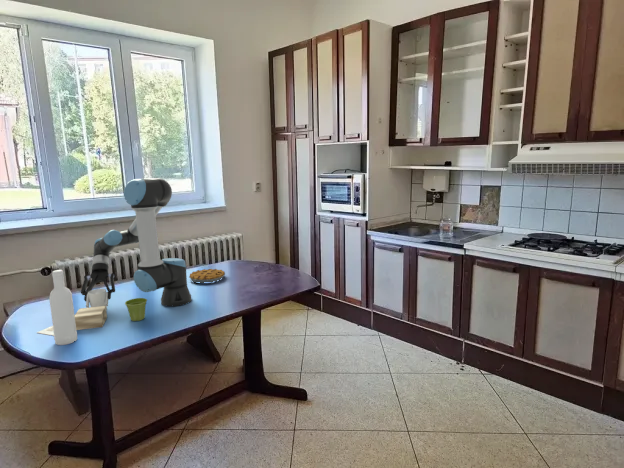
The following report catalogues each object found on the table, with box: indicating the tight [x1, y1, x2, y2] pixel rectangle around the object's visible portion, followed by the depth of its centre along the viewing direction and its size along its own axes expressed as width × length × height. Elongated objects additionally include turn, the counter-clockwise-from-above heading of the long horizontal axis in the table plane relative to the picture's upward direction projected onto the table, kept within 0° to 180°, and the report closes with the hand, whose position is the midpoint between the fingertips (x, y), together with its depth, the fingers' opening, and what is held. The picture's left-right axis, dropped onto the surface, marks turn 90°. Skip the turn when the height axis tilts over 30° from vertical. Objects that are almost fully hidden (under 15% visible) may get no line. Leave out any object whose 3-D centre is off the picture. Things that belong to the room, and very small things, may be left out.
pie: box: [188, 268, 226, 283], centre depth 244 cm, size 22×22×5 cm
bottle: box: [48, 269, 78, 346], centre depth 159 cm, size 8×8×30 cm
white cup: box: [88, 288, 108, 311], centre depth 193 cm, size 8×8×10 cm
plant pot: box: [124, 297, 148, 322], centre depth 183 cm, size 9×9×9 cm
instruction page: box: [36, 325, 54, 337], centre depth 171 cm, size 12×9×1 cm
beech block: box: [74, 306, 108, 331], centre depth 178 cm, size 11×11×6 cm
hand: (97, 305), depth 190 cm, fingers closed on white cup, 8 cm apart
